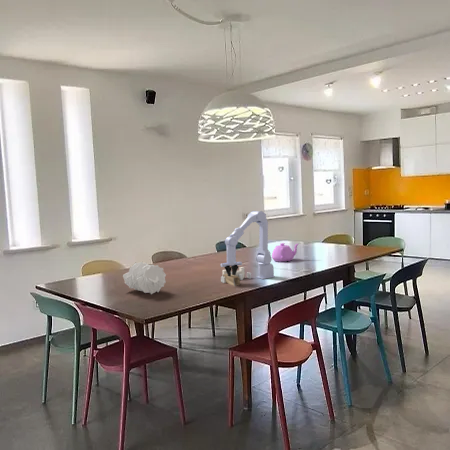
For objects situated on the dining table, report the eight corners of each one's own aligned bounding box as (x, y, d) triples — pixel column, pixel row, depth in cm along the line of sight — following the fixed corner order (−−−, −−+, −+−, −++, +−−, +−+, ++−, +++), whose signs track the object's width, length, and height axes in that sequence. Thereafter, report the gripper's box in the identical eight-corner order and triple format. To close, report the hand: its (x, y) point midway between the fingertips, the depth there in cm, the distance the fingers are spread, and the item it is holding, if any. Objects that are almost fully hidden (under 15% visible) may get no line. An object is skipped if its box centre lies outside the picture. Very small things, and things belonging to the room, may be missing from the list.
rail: (228, 280, 300) (227, 273, 300) (240, 284, 287) (239, 276, 286) (223, 282, 299) (222, 274, 298) (234, 286, 285) (233, 278, 285)
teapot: (299, 262, 355) (299, 244, 353) (271, 263, 358) (270, 245, 357) (299, 258, 376) (299, 241, 375) (272, 258, 380) (272, 241, 379)
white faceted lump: (142, 294, 294) (163, 298, 275) (118, 286, 284) (138, 290, 264) (150, 266, 298) (172, 268, 279) (127, 257, 288) (148, 259, 269)
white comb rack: (246, 276, 311) (245, 266, 310) (251, 278, 306) (250, 267, 305) (219, 281, 301) (218, 270, 300) (224, 283, 295) (223, 272, 295)
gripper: (237, 254, 299) (237, 275, 300) (217, 256, 292) (218, 277, 293) (243, 255, 293) (243, 276, 294) (223, 257, 286) (223, 279, 287)
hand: (231, 277), depth 293 cm, fingers closed on rail, 3 cm apart
